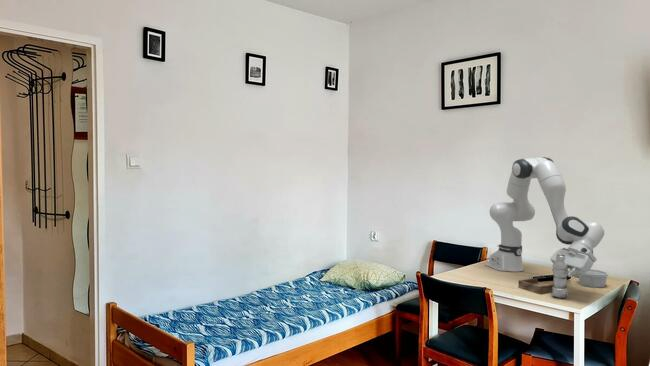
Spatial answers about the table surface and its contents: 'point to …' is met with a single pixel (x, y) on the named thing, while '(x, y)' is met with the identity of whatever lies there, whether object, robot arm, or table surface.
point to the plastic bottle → (560, 277)
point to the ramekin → (593, 278)
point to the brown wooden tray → (535, 286)
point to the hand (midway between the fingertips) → (560, 273)
